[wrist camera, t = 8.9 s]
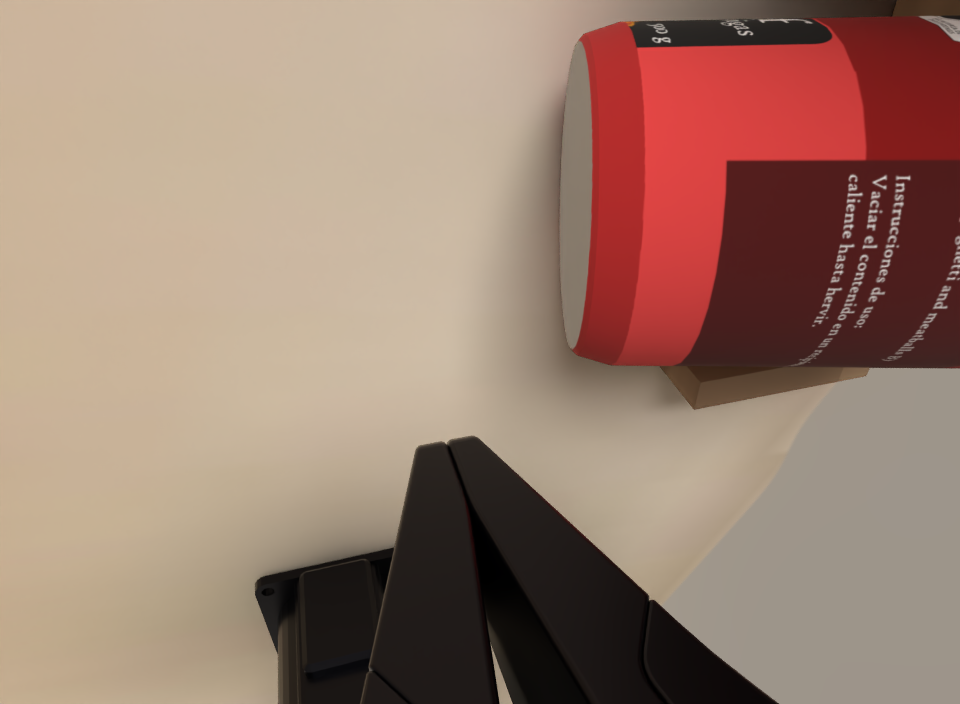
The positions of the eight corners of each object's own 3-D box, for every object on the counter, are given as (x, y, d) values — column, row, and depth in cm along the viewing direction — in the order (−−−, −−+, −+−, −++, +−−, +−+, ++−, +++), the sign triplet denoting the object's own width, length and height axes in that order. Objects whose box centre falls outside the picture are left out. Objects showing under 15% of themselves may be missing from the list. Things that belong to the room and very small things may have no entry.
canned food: (557, 126, 20) (920, 122, 20) (559, 382, 19) (947, 384, 18) (590, -73, 12) (1185, -85, 12) (599, 336, 11) (1260, 338, 11)
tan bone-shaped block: (812, 331, 26) (866, 375, 24) (654, 359, 25) (694, 409, 22) (1002, -204, 16) (1125, -218, 14) (758, -207, 15) (848, -223, 13)
